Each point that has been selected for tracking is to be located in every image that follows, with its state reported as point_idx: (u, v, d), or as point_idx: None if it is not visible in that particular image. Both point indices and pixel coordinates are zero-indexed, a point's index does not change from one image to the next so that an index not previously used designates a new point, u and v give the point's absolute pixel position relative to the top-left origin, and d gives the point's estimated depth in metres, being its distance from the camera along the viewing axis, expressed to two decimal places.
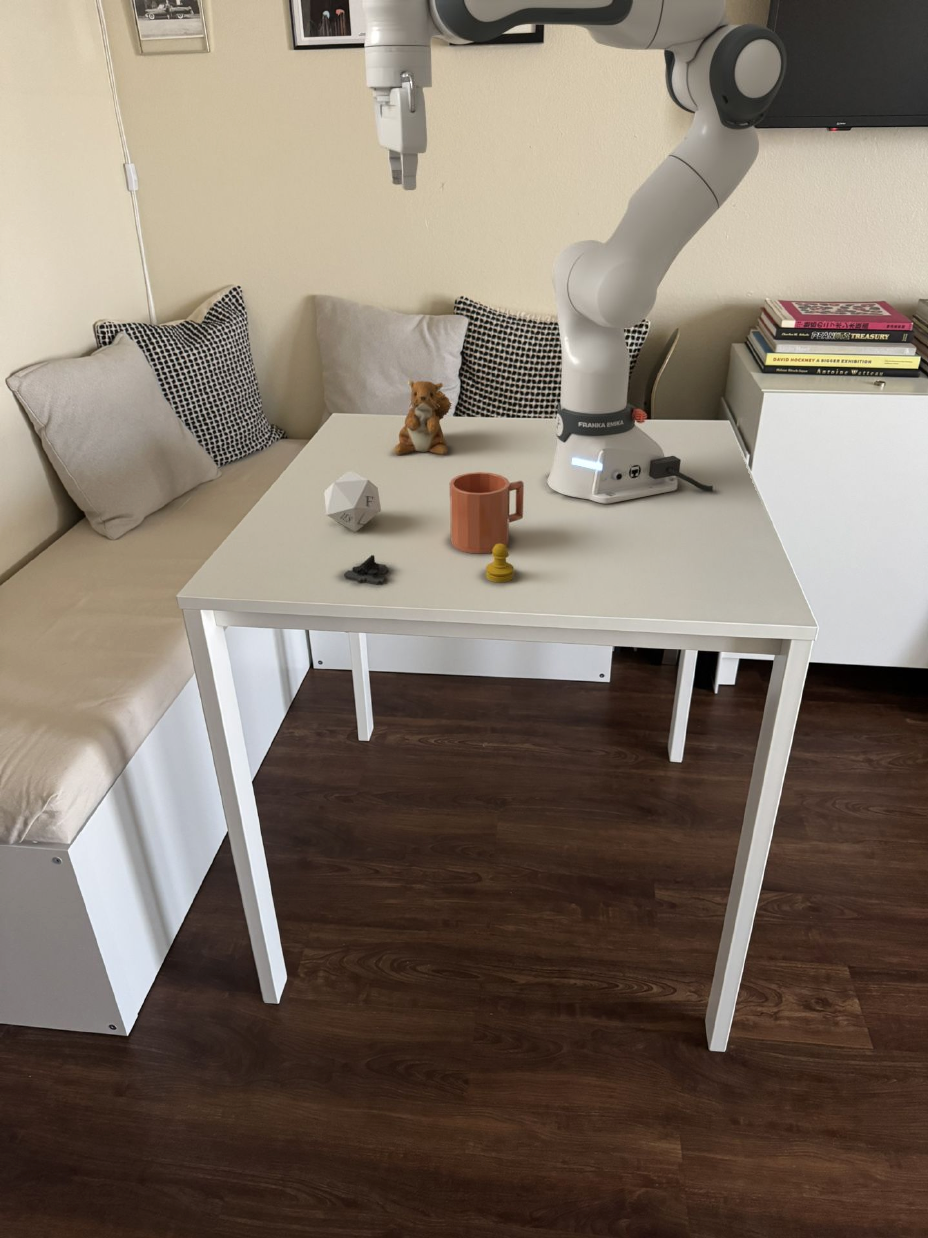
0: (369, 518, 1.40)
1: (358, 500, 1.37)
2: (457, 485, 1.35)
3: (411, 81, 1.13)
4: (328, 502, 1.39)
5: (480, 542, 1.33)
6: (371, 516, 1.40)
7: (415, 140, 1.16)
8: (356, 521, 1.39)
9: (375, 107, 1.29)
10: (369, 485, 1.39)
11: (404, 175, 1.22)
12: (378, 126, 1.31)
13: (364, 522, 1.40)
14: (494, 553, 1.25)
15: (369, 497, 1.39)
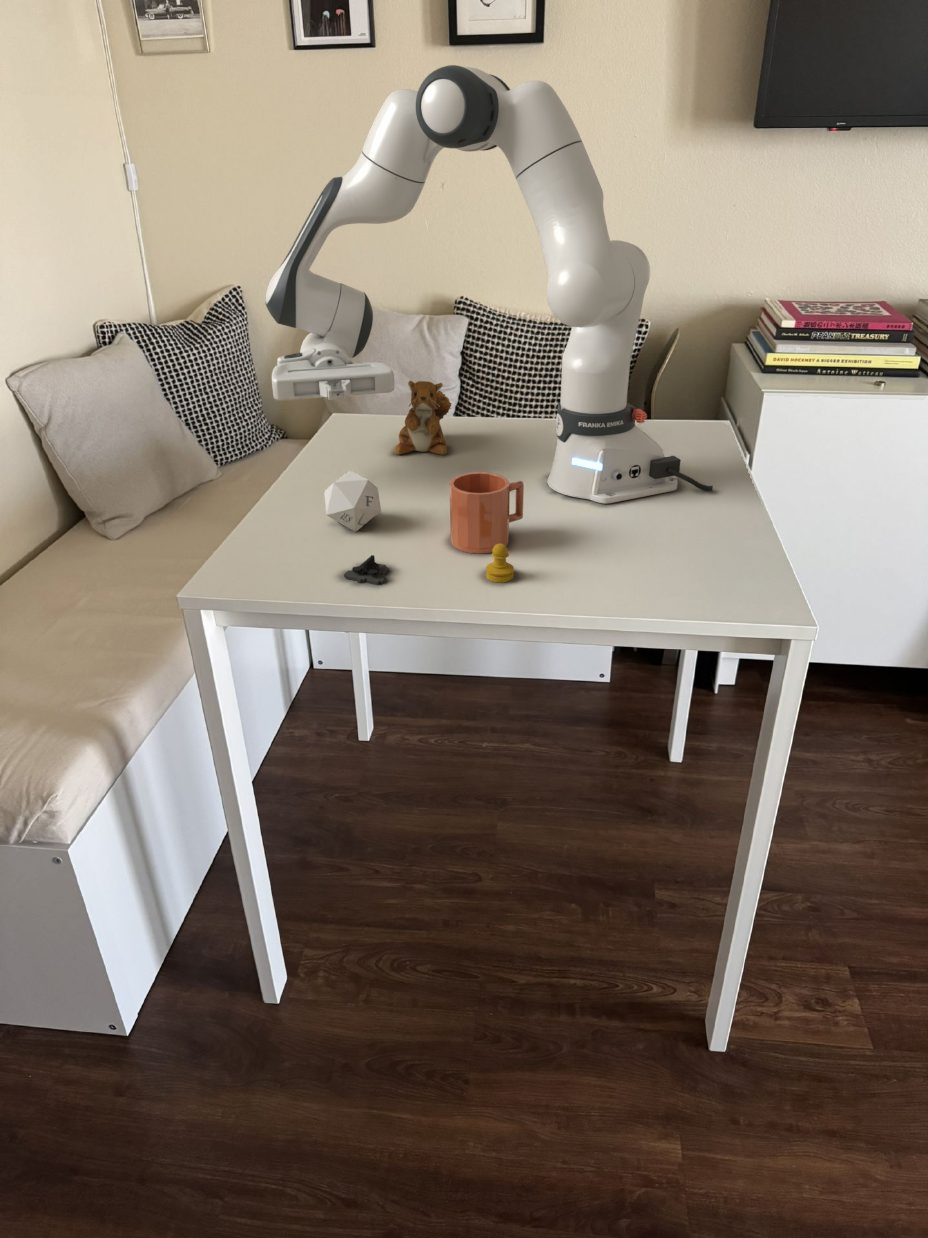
0: (369, 518, 1.40)
1: (358, 500, 1.37)
2: (457, 485, 1.35)
3: None
4: (328, 502, 1.39)
5: (480, 542, 1.33)
6: (371, 516, 1.40)
7: None
8: (356, 521, 1.39)
9: (280, 368, 1.49)
10: (369, 485, 1.39)
11: (346, 386, 1.45)
12: (280, 374, 1.47)
13: (364, 522, 1.40)
14: (494, 553, 1.25)
15: (369, 497, 1.39)
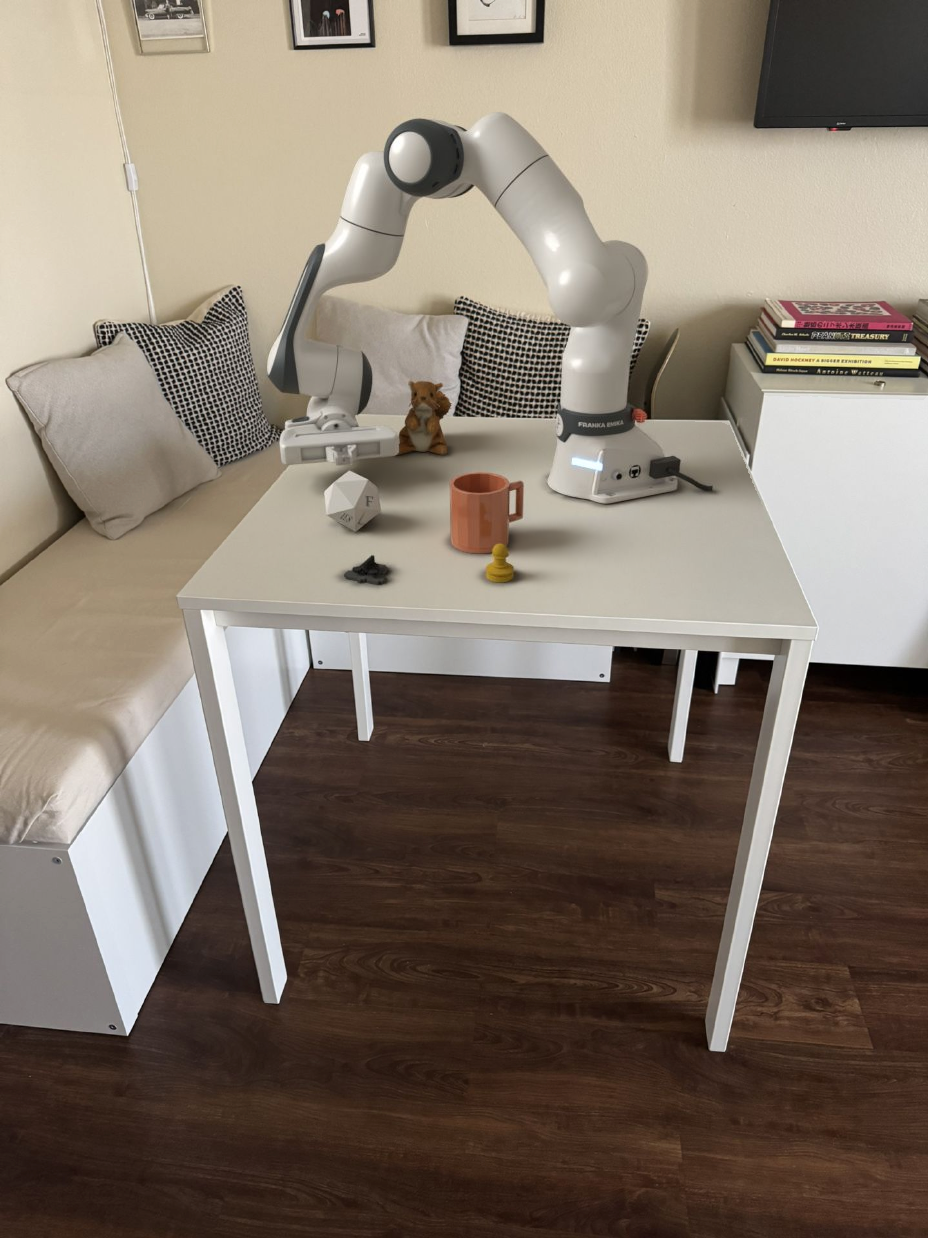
0: (369, 518, 1.40)
1: (358, 500, 1.37)
2: (457, 485, 1.35)
3: None
4: (328, 502, 1.39)
5: (480, 542, 1.33)
6: (371, 516, 1.40)
7: None
8: (356, 521, 1.39)
9: (288, 432, 1.53)
10: (369, 485, 1.39)
11: (351, 452, 1.49)
12: (287, 439, 1.51)
13: (364, 522, 1.40)
14: (494, 553, 1.25)
15: (369, 497, 1.39)
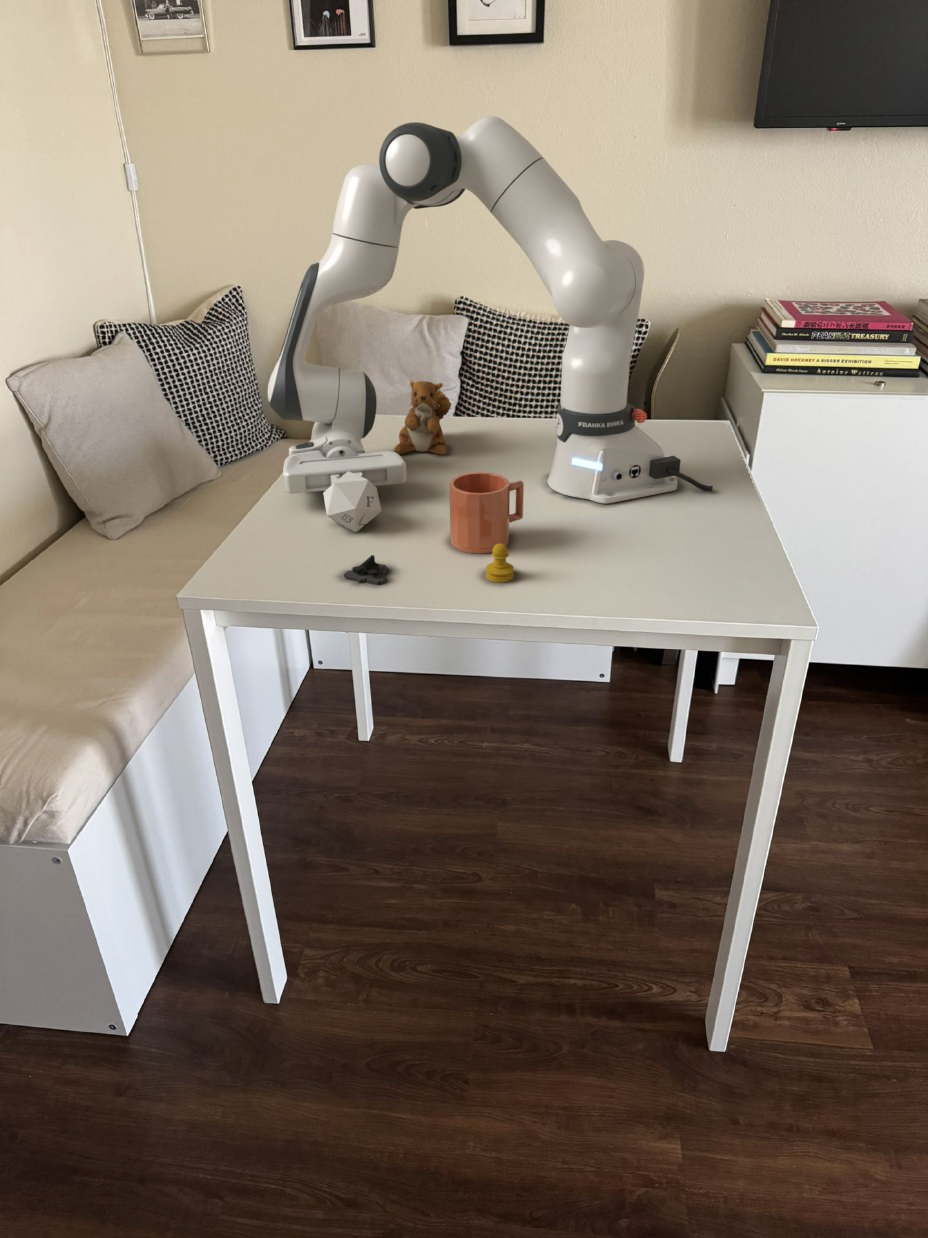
0: (369, 518, 1.40)
1: (359, 500, 1.37)
2: (457, 485, 1.35)
3: None
4: (328, 503, 1.39)
5: (480, 542, 1.33)
6: (371, 516, 1.40)
7: None
8: (357, 521, 1.39)
9: (292, 459, 1.48)
10: (369, 485, 1.39)
11: None
12: (291, 467, 1.47)
13: (365, 522, 1.40)
14: (494, 553, 1.25)
15: (370, 497, 1.39)
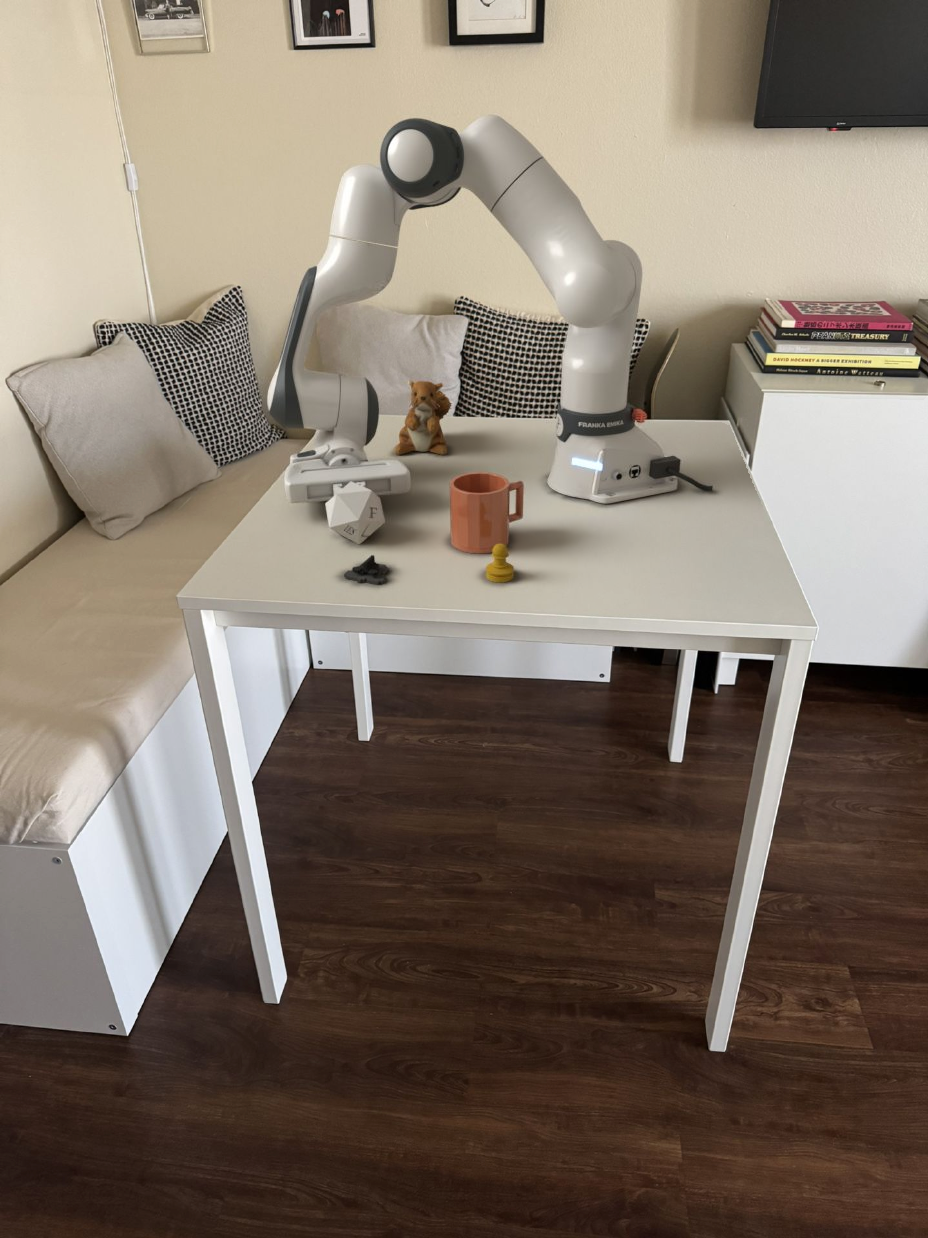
0: (373, 530, 1.37)
1: (362, 511, 1.34)
2: (457, 485, 1.35)
3: None
4: (331, 514, 1.35)
5: (480, 542, 1.33)
6: (375, 528, 1.36)
7: None
8: (360, 533, 1.35)
9: (293, 468, 1.45)
10: (373, 496, 1.35)
11: None
12: (292, 476, 1.43)
13: (368, 534, 1.37)
14: (494, 553, 1.25)
15: (373, 508, 1.35)
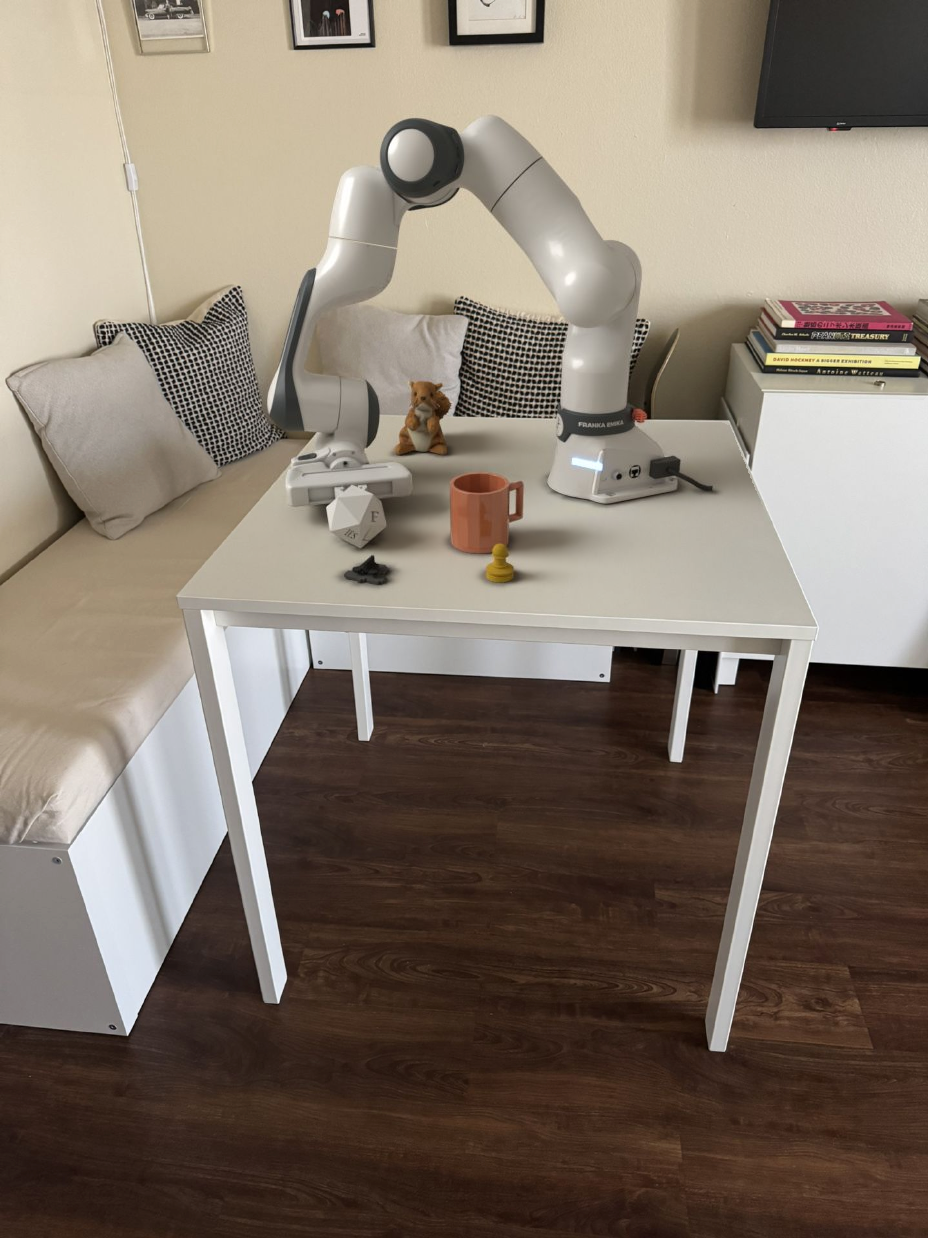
0: (374, 534, 1.35)
1: (363, 515, 1.32)
2: (457, 485, 1.35)
3: None
4: (332, 518, 1.34)
5: (480, 542, 1.33)
6: (376, 532, 1.35)
7: None
8: (361, 537, 1.34)
9: (294, 471, 1.44)
10: (374, 500, 1.34)
11: None
12: (294, 479, 1.42)
13: (369, 538, 1.35)
14: (494, 553, 1.25)
15: (374, 512, 1.34)
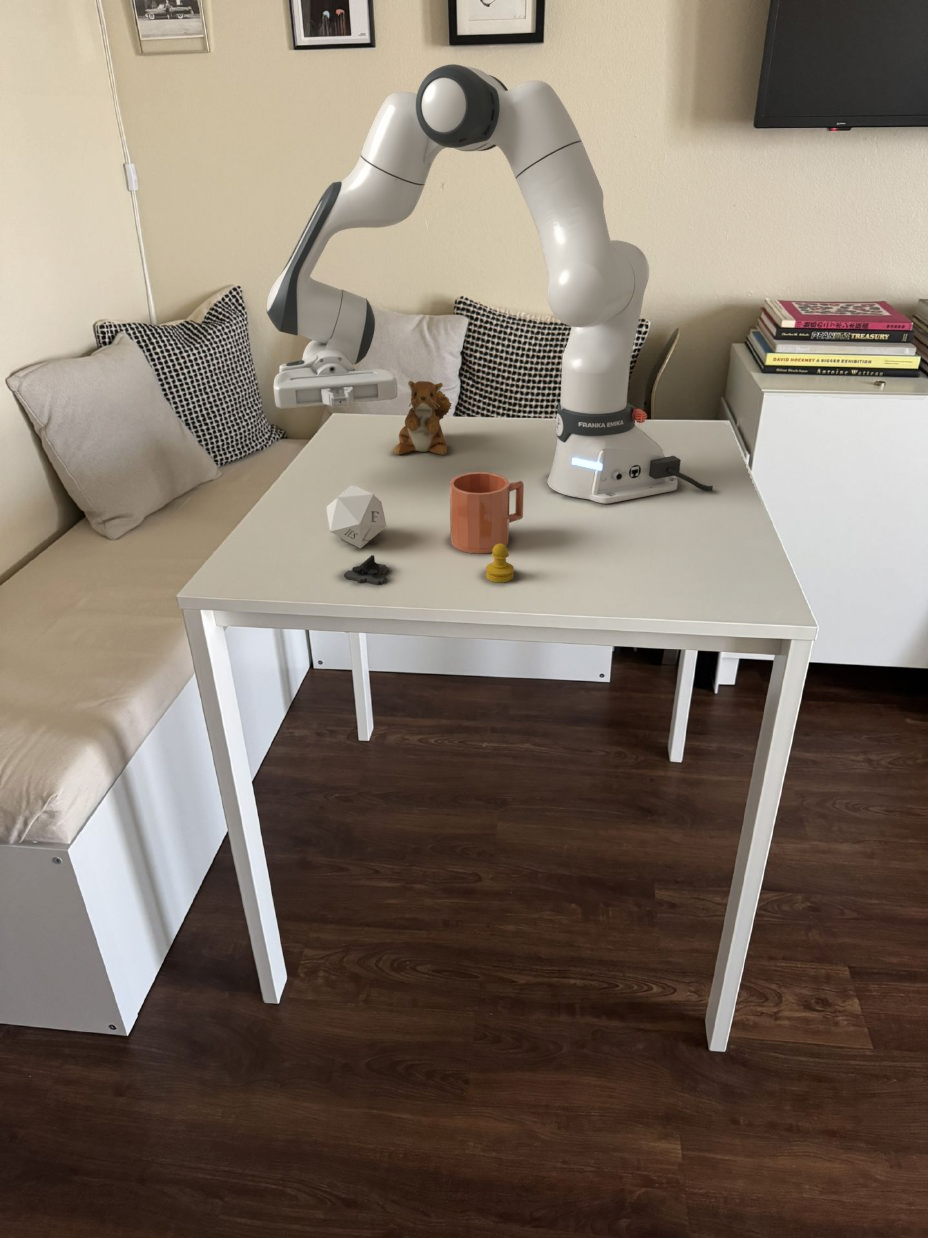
0: (374, 534, 1.35)
1: (363, 515, 1.32)
2: (457, 485, 1.35)
3: None
4: (332, 518, 1.34)
5: (480, 542, 1.33)
6: (376, 532, 1.35)
7: None
8: (361, 537, 1.34)
9: (282, 375, 1.48)
10: (374, 500, 1.34)
11: (348, 393, 1.44)
12: (282, 381, 1.46)
13: (369, 538, 1.35)
14: (494, 553, 1.25)
15: (374, 512, 1.34)
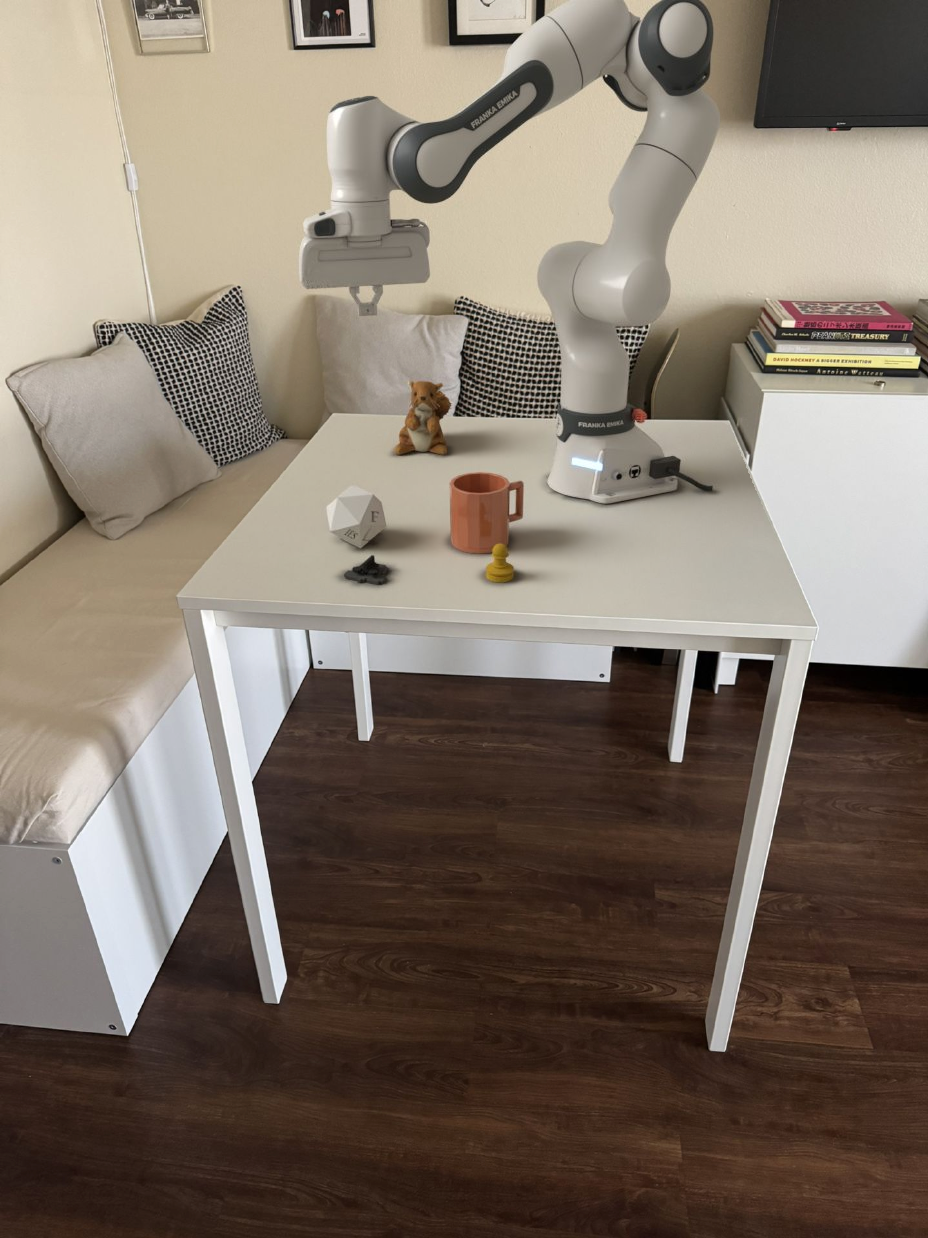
0: (374, 534, 1.35)
1: (363, 515, 1.32)
2: (457, 485, 1.35)
3: (426, 226, 1.38)
4: (332, 518, 1.34)
5: (480, 542, 1.33)
6: (376, 532, 1.35)
7: None
8: (361, 537, 1.34)
9: (310, 253, 1.34)
10: (374, 500, 1.34)
11: None
12: (309, 270, 1.36)
13: (369, 538, 1.35)
14: (494, 553, 1.25)
15: (374, 512, 1.34)
